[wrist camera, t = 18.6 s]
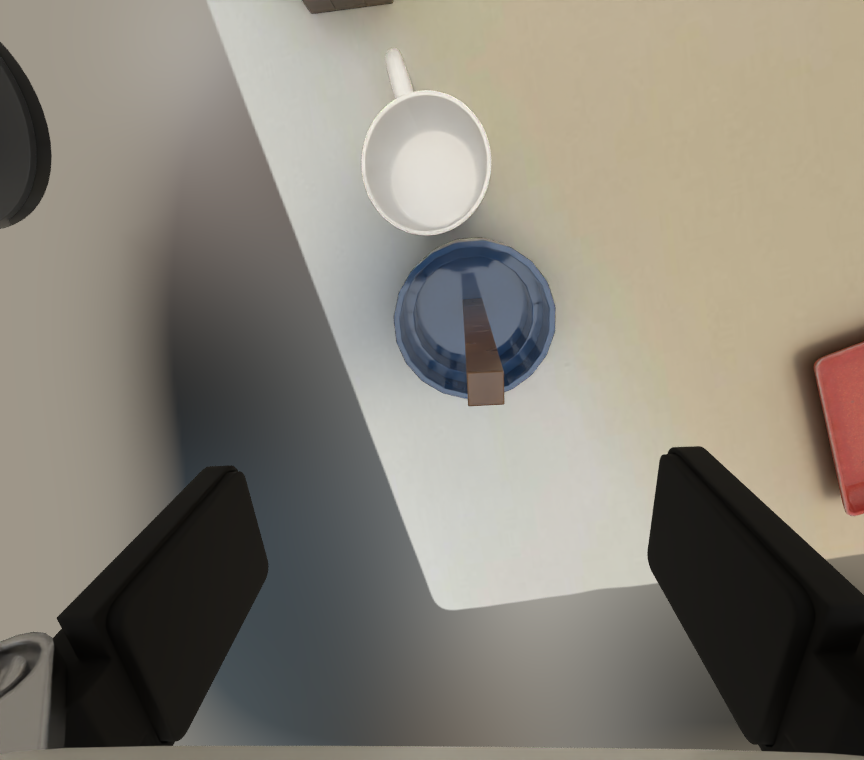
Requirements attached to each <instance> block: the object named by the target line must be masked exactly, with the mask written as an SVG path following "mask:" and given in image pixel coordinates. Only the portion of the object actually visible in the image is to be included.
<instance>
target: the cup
mask: <svg viewBox="0 0 864 760" xmlns="http://www.w3.org/2000/svg"><path fill="white" fill-rule="evenodd" d="M385 61H386V67H387V71H388V75H389V79H390V83H391V86H392V90H393V93H394V97H395V99H394V100H393V101H391V102H390V103H389V104H388V105H386V106H385V107H384V108H383V109H382V110H381V111H380V112H379V114H378V115H377V116H376V117H375V119H374V120H373V122H372V124H371V126H370V127H369V130H368V132H367V134H366V137H365V140H364V144H363V148H362V156H361V170H362V177H363V182H364V186H365V189H366V192H367V194H368V196H369V198H370V200H371V202H372V204H373V205H374V207H375V208H376V210H377V211H378V212H379V213H380V214H381V216H382V217H383V218H384V219H386V220H387V221H388V222H389V223H390V224H392V225H393V226H395V227H397V228H398V229H400V230H403V231H405V232H408V233H411V234H415V235H426V236H429V235H437V234H441V233H445V232H448V231H450V230H452V229H454V228H456V227H458V226H459V225H461V224H462V223H463V222H465V221H466V220H467V219H468V218H469V217H470V216H471V215H472V214H473V213H474V212H475V210H476V209H477V208H478V206H479V205H480V203H481V201H482V199H483V198H484V195H485V193H486V190H487V187H488V184H489V180H490V175H491V151H490V145H489V141H488V138H487V135H486V133H485V130H484V128H483V126H482V124H481V122H480V121H479V119H478V118H477V116H476V115H475V114H474V113H473V111H472V110H471V109H470V108H469V107H468V106H466V105H465V104H464V103H463V102H461V101H460V100H458V99H457V98H455V97H453V96H451V95H449V94H446V93H443V92H439V91H433V90H420V91H414V89H413V86H412V83H411V81H410V78H409V75H408V72H407V69H406V66H405V63H404V60H403V57H402V54H401V53H400V51H399V50H398V49H397V48H390V49H389V50H388V51H387V52H386V56H385Z"/></svg>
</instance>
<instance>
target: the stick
mask: <svg viewBox="0 0 864 760" xmlns="http://www.w3.org/2000/svg"><path fill="white" fill-rule="evenodd" d="M463 317H464V336H465V355H466V374H467V393H468V405H469V406H482V405H502V404H504V371H503V367H502V364H501V361H500V357H499V354H498V351H497V347H496V344H495V341H494V337H493V334H492V330H491V327H490V324H489V320H488V317H487V314H486V310H485V307H484V303H483V300H482V298H479V299H465V300H463Z"/></svg>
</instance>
